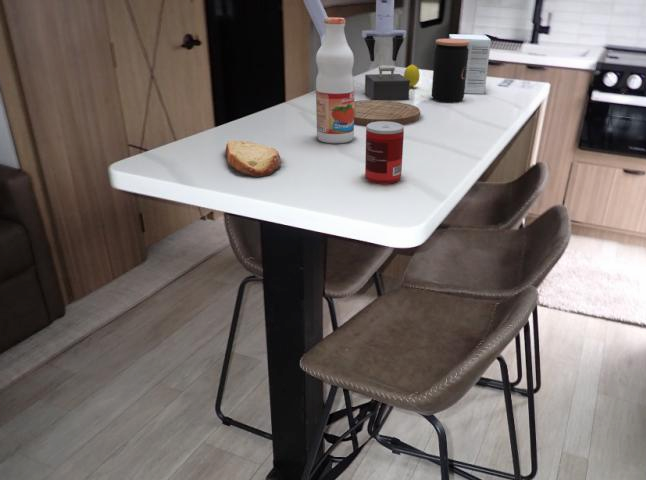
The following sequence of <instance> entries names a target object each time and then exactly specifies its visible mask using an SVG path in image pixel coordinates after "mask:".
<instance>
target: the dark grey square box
mask: <svg viewBox="0 0 646 480" xmlns="http://www.w3.org/2000/svg"><path fill="white" fill-rule="evenodd" d="M364 94H365V95H366V97H368V98H369V99H370V100H384V101H408V100H410V87H409V83H375V84H374V83H373V82H372V81H370V80H369V79H368V78H366V77H365V76H364Z"/></svg>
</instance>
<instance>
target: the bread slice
mask: <svg viewBox="0 0 646 480" xmlns="http://www.w3.org/2000/svg"><path fill="white" fill-rule="evenodd" d="M225 156H226V161H227V163H228V165H229V166H230V167H232V168H233V169H235V170H236V171H238V172H239V173H241V174H243V175H247V176H250V177H255V178H260V177H265V176H269V175H272V174H273V173H274V171H275V170H277V169H279V168H280V167H281V165H282V160H281V156H280V154H279V151H278V150H277V149H276V148H274V147H269V146H267V145H264V144H262V143H257V142H253V141H251V142H250V141H241V140H228V141H227V143H226V146H225Z"/></svg>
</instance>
